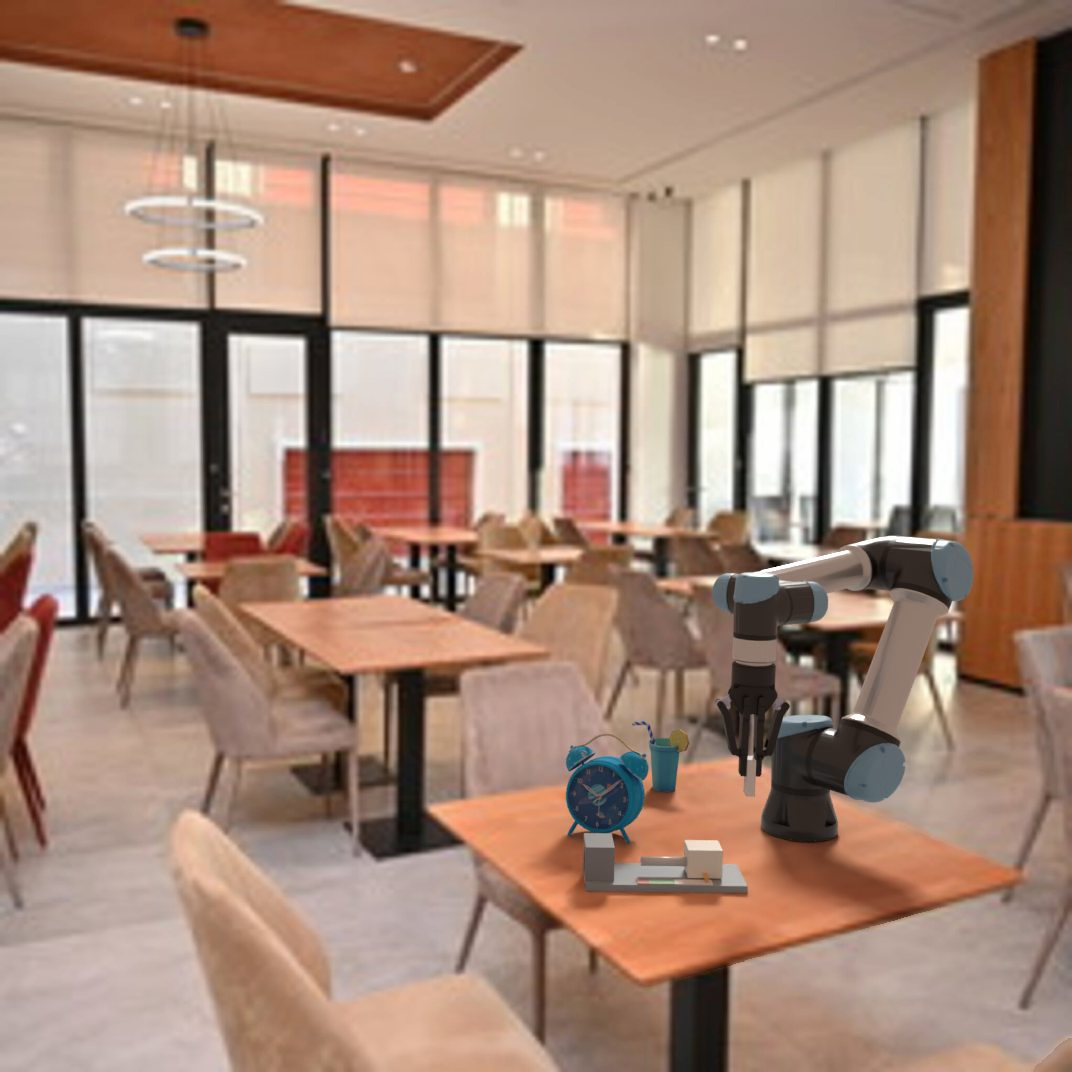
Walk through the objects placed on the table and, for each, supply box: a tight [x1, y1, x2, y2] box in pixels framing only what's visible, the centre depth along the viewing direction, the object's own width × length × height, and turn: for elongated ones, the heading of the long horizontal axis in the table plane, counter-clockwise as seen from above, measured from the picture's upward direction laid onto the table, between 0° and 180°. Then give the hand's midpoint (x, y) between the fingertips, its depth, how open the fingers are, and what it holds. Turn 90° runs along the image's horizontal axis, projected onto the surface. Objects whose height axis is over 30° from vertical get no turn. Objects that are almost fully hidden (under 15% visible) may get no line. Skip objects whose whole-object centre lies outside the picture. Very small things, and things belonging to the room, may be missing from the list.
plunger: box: [639, 839, 724, 882], centre depth 188 cm, size 14×7×5 cm, turn 90°
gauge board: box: [582, 832, 749, 894], centre depth 189 cm, size 28×10×7 cm, turn 90°
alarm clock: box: [565, 732, 650, 845], centre depth 210 cm, size 17×10×20 cm, turn 70°
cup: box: [631, 720, 690, 793], centre depth 241 cm, size 14×8×15 cm, turn 65°
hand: (749, 793), depth 188 cm, fingers closed
